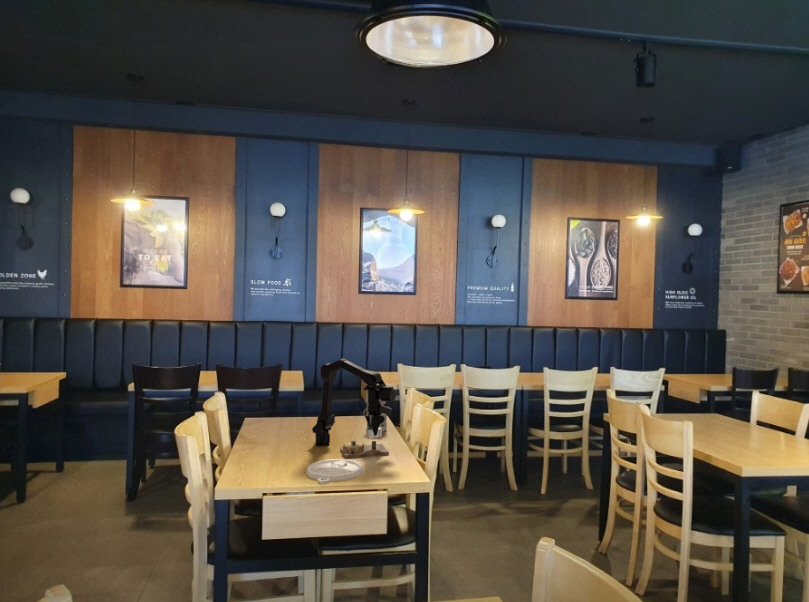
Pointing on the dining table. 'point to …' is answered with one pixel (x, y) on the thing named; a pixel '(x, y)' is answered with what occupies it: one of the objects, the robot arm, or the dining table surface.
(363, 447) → the gear board
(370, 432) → the steel gear
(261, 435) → the dining table surface
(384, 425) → the coffee box
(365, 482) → the dining table surface
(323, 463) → the medallion
